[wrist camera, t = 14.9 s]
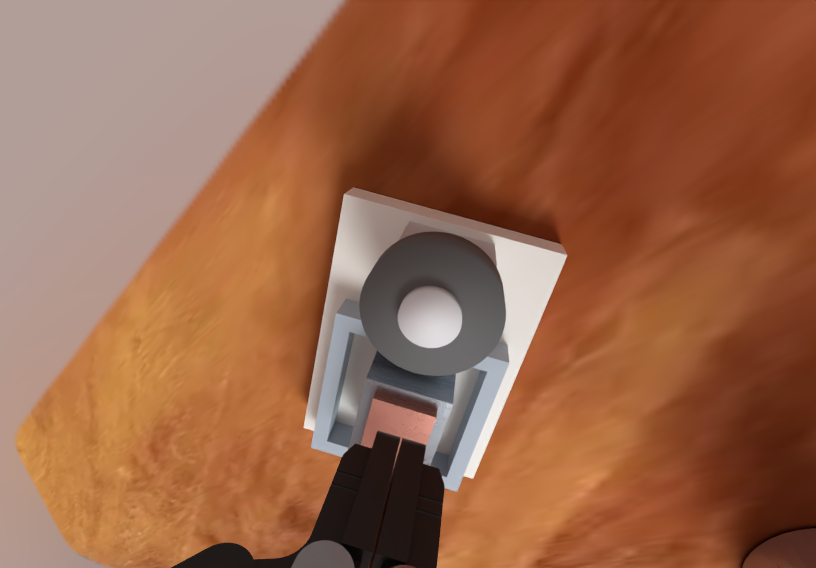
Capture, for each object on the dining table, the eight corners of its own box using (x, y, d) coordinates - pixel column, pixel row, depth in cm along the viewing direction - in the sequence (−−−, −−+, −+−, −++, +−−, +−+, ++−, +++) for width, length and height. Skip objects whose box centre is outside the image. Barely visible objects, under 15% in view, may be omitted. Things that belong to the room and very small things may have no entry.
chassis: (561, 244, 26) (580, 279, 21) (473, 457, 33) (471, 521, 28) (353, 187, 26) (323, 208, 21) (313, 409, 34) (284, 463, 29)
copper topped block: (457, 359, 28) (452, 411, 23) (428, 438, 31) (419, 498, 26) (382, 336, 28) (363, 384, 23) (361, 417, 31) (340, 474, 26)
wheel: (518, 234, 24) (529, 273, 18) (480, 339, 27) (480, 399, 21) (395, 200, 24) (371, 229, 19) (371, 308, 27) (344, 359, 22)
